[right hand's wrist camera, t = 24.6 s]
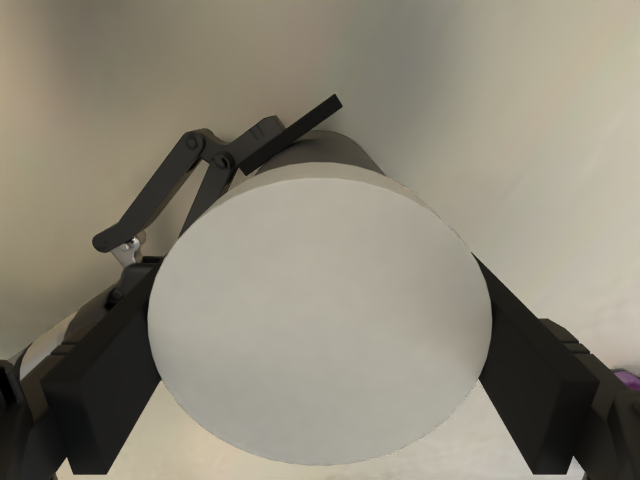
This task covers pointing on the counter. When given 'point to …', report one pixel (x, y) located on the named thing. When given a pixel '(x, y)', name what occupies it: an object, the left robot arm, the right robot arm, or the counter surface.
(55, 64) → the counter surface
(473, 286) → the lid
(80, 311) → the left robot arm
